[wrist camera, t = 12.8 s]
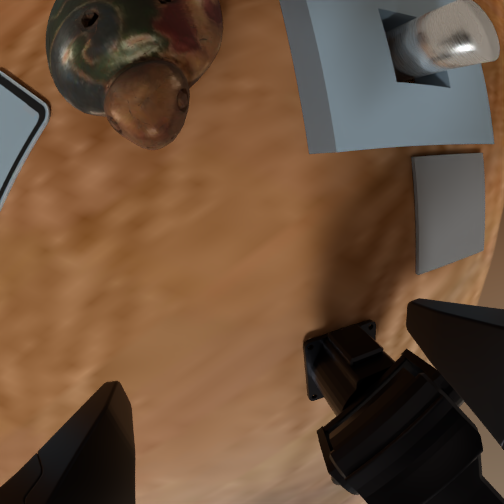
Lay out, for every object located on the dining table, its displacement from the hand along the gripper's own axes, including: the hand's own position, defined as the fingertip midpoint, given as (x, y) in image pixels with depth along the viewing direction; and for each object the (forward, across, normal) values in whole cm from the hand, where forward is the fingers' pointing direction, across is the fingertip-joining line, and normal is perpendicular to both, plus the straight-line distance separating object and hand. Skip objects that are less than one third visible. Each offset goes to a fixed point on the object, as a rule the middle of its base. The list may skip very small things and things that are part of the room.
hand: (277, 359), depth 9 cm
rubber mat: (+13, -21, +1) cm, 25 cm away
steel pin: (+13, -15, -12) cm, 23 cm away
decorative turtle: (+13, +3, -14) cm, 20 cm away
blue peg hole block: (+13, -15, -12) cm, 23 cm away
